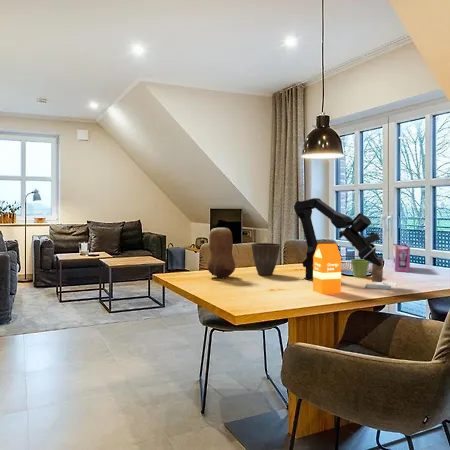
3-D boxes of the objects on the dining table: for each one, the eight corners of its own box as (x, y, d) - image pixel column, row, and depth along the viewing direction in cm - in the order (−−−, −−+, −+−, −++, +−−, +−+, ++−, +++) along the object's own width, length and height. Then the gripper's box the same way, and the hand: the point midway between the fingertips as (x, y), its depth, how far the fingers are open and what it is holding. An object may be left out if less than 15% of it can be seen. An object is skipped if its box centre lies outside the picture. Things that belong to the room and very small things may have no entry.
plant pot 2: (370, 279, 217) (371, 261, 216) (350, 278, 218) (351, 261, 218) (368, 276, 226) (368, 259, 225) (349, 275, 228) (349, 258, 227)
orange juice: (341, 293, 180) (341, 244, 180) (321, 294, 178) (322, 244, 177) (331, 289, 188) (331, 243, 187) (312, 290, 185) (313, 243, 185)
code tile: (374, 285, 198) (374, 284, 198) (376, 282, 207) (376, 281, 207) (395, 286, 195) (395, 286, 195) (396, 283, 203) (396, 283, 203)
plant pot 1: (272, 272, 239) (272, 242, 238) (284, 276, 225) (285, 244, 224) (247, 273, 234) (247, 243, 234) (257, 277, 220) (258, 245, 220)
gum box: (410, 272, 240) (410, 247, 239) (394, 271, 242) (395, 247, 242) (406, 267, 263) (406, 244, 262) (392, 266, 265) (392, 244, 265)
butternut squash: (225, 274, 229) (225, 226, 228) (240, 278, 218) (240, 227, 217) (202, 276, 221) (202, 227, 221) (216, 280, 210) (216, 228, 209)
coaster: (364, 288, 190) (364, 287, 190) (366, 285, 199) (366, 283, 199) (389, 290, 186) (389, 289, 186) (390, 286, 195) (390, 285, 195)
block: (372, 281, 191) (372, 258, 190) (372, 279, 196) (373, 257, 195) (381, 282, 189) (382, 259, 189) (382, 280, 194) (383, 258, 194)
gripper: (367, 227, 184) (394, 254, 181) (370, 225, 202) (396, 250, 198) (347, 244, 188) (373, 272, 184) (352, 241, 205) (377, 266, 201)
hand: (380, 264), depth 192 cm, fingers closed on block, 5 cm apart
